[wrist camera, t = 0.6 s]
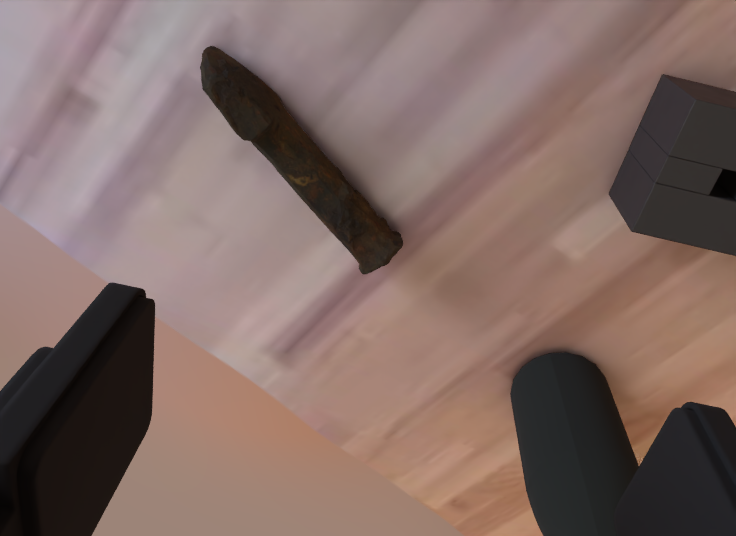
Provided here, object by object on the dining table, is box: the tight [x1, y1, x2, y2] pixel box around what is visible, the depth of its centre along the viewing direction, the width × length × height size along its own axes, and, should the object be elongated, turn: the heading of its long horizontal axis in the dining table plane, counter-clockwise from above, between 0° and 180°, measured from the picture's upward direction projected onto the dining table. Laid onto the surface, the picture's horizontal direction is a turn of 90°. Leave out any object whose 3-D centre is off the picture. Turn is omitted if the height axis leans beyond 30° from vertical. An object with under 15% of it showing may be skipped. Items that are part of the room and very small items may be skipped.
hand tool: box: [200, 46, 403, 274], centre depth 44 cm, size 19×4×5 cm, turn 36°
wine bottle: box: [511, 352, 639, 536], centre depth 42 cm, size 8×8×30 cm
